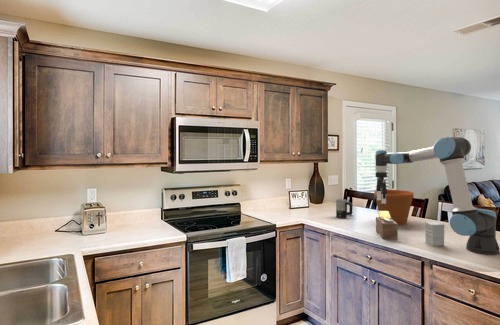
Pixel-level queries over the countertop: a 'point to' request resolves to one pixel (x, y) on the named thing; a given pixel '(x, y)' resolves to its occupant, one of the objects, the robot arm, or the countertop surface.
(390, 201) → the flowerpot
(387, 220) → the grey block
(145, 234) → the countertop surface
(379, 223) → the socket block
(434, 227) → the supplement box
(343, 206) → the milk frother
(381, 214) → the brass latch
